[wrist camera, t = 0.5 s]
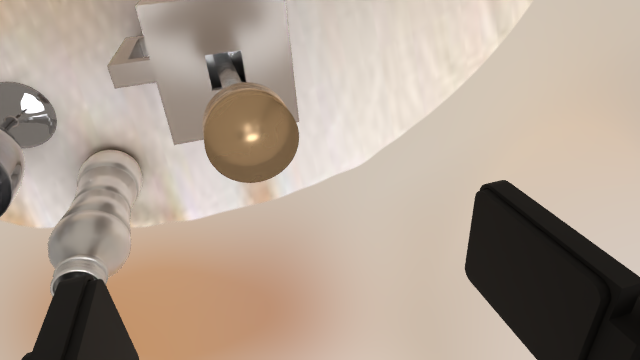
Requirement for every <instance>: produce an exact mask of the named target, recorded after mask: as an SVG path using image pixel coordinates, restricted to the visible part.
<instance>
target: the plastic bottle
mask: <svg viewBox="0 0 640 360" xmlns="http://www.w3.org/2000/svg"><path fill="white" fill-rule="evenodd" d="M142 184H143V179H142V173H141V169H140V167H139V165H138V163H137V162H136V161H135V160H134V159H133V158H132V157H131V156H130V155H128V154H126V153H124V152H121V151H118V150H103V151H100V152H97V153H95V154H93V155H92V156H91V157H89V158H88V159H87V160H86V161H85V162H84V164H83V165H82V166H81V168H80V170H79V174H78V179H77V191H76V195H75V199H74V200H73V202H72V204H71V206H70V208H69V210H68V211H67V212H66V214H65V215H64V216H63V217H62V219H61V220H60V221H59V222H58V224H57V225H56V226H55V228H54V230H53V231H52V233H51V235H50V237H49V241H48V255H49V259H50V262H51V264H52V265H53V267H54V268H55V271H54V274H53V280H52V282H51V287H50V289H51V294H52V296H54V293H55V290H56V288H57V285H58V284H59V282H61V281H62V280H67V279H71V278H76V277H80V276H84V275H91V276H92V277H93V278H94V279H95V280H97V279H102V280H103V281H104V283H105V285H106V283H107V280H108V277H110V276H112V275H113V274H115V273H116V272H117V271H118V270H119V269H120V268H121V267H122V266H123V264H124V263H125V262H126V260H127V258H128V257H129V254H130V248H131V233H130V216H131V210H132V207H133V204H134V202H135V200H136V199H137V197H138V195H139V193H140V191H141V188H142Z"/></svg>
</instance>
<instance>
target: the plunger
mask: <svg viewBox="0 0 640 360" xmlns="http://www.w3.org/2000/svg"><path fill="white" fill-rule="evenodd" d="M205 59H206V63H207V68H208V73H209V77H210V82H211V86H212V88H217V87H222V88H223V89H222V90H220V91H219V92H218V93H216V94H215V95H214V96H213V97H212V99H211V100H210V101H209V103H208V105H207V106H206V109H205V111H204V115H203V121H202V125H203V135H204V144H205V150H206V153H207V156H208V158H209V160H210V162H211V163H212V165H213V166H214V167H215V168H216V170H218V171H219V172H220V173H221V174H223V175H224V176H226V177H228V178H230V179H232V180H235V181H239V182H246V183H255V182H261V181H264V180H267V179H270V178H272V177H274V176H276V175H278V174H279V173H280V172H282V171H283V170H284V169H285V168H286V167H287V166H288V165H289V164H290V162H291V161H292V159H293V157H294V156H295V153H296V151H297V147H298V142H299V132H298V127H297V124H296V121H295V119H294V117H293V116H292V114H291V113H290V111H289V110H288V108H287V107H286V105H285V104H284V102H283V101H282V99H281V98H280V97H279V96H278V95H277V94H276V93H275V92H274V91H273V90H271V89H270V88H268V87H266V86H264V85H261V84H258V83H252V82H246V80H245V74H244V69H243V63H242V57H241V51H240V50H239V51H232V52H225V53H218V54H211V55H205Z"/></svg>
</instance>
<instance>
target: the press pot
mask: <svg viewBox="0 0 640 360" xmlns="http://www.w3.org/2000/svg"><path fill="white" fill-rule="evenodd" d="M135 9H136V12H137V16H138V19H139V23H140V26H141V30H142V33H143V36H136V37H128V38H125V40H124V41H123V43H122V44H121V46H120V47H119V49H118V50H117V52H116V53H115V55H114V57H113V58H112V60H111V61H110V63H109V64H108V66H107V67H108V70H109V73H110V76H111V79H112V82H113V84H114V87H115V88H122V87H128V86H135V85H141V84H148V83H154V82H157V86H158V89H159V93H160V96H161V100H162V103H163V107H164V110H165V114H166V117H167V121H168V125H169V128H170V132H171V135H172V139H173V142H174V145H176V144H182V143H187V142H192V141H198V140H203V139H204V135H203V125H202V121H203V115H204V111H205V109H206V106H207V105H208V103H209V101H210V100H211V99H212V97H213V96H214V95H215V94H216V93H218V92H219V91H220V90H222V89H223V88H222V87H217V88H212V86H211V82H210V77H209V73H208V68H207V63H206V59H205V55H211V54H218V53H225V52H232V51H239V50H240V51H241V57H242V63H243V69H244V74H245V80H246V82H252V83H258V84H261V85H264V86H266V87H268V88H270V89H271V90H273V91H274V92H275V93H276V94H277V95H278V96H279V97H280V98H281V99H282V101H283V102H284V104H285V105H286V107H287V108H288V110H289V111H290V113H291V114H292V116H293V117H294V119H295V121H296V122H299V117H298V108H297V99H296V90H295V81H294V72H293V63H292V54H291V45H290V36H289V27H288V18H287V9H286V0H140V1H139V2H138V3H137V4H136V5H135ZM143 56H149V57H143Z"/></svg>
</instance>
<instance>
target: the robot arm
mask: <svg viewBox="0 0 640 360" xmlns="http://www.w3.org/2000/svg"><path fill="white" fill-rule="evenodd" d="M465 271H466V275H467V277H468V279H469V280H470V281H471V283H472V284H473V285H474V286H475V287H476V288H477V290H478V291H479V292H480V293H481V294H482V296H483V297H484V298H485V299H486V300H487V301H488V303H489V304H490V305H491V306H492V307H493V309H494V310H495V311H496V312H497V313H498V314H499V316H500V317H501V318H502V319H503V320H504V321H505V323H506V324H507V325H508V326H509V327H510V328H511V329H512V331H513V332H514V333H515V334H516V336H517V337H518V338H519V339H520V340H521V341H522V343H523V344H524V345H525V346H526V347H527V348H528V350H529V351H530V352H531V353H532V354H533V355H534V357H535V358H536V359H537V360H640V277H639V276H638V275H636V274H635V273H633V272H632V271H631V270H629V269H628V268H626V267H625V266H624V265H622V264H621V263H620V262H618V261H617V260H616V259H614V258H613V257H611V256H610V255H609V254H607V253H606V252H605V251H603V250H601V249H600V248H599V247H598V246H596V245H595V244H593V243H592V242H591V241H589V240H588V239H587V238H585V237H584V236H582V235H581V234H580V233H578V232H577V231H576V230H574V229H573V228H571V227H570V226H569V225H567V224H566V223H565V222H563V221H561V220H560V219H559V218H558V217H556V216H555V215H554V214H552V213H551V212H549V211H548V210H547V209H545V208H544V207H543V206H541V205H540V204H538V203H537V202H536V201H534V200H533V199H531V198H530V197H529V196H527V195H526V194H525V193H523V192H522V191H520V190H519V189H518V188H516V187H515V186H514V185H512V184H511V183H509V182H508V181H506V180H501V181H497V182H492V183H488V184H484V185H482V187H481V188H480V191H478V192H477V193H476V196H475V202H474V209H473V216H472V222H471V230H470V236H469V243H468V250H467V256H466V263H465ZM22 360H139V357H138V354H137V352H136V350H135V348H134V345H133V343H132V341H131V339H130V337H129V335H128V332H127V330H126V328H125V326H124V324H123V322H122V319H121V317H120V315H119V313H118V311H117V309H116V307H115V304H114V302H113V300H112V298H111V296H110V294H109V292H108V289H107V287H106V285H105V283H104V281H103V280H102V279H97V280H95V279H94V278H93V277H92V276H91V275H84V276H80V277H76V278H71V279H67V280H62V281H61V282H59V284H58V285H57V288H56V290H55V293H54V296H53V298H52V301H51V304H50V306H49V309H48V312H47V314H46V317H45V319H44V322H43V325H42V328H41V330H40V333H39V335H38V338H37V341H36V343H35V346H34V348H33V351H32V352H30V353H27V354H26V355H25V356H24V357H23V358H22Z"/></svg>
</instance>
